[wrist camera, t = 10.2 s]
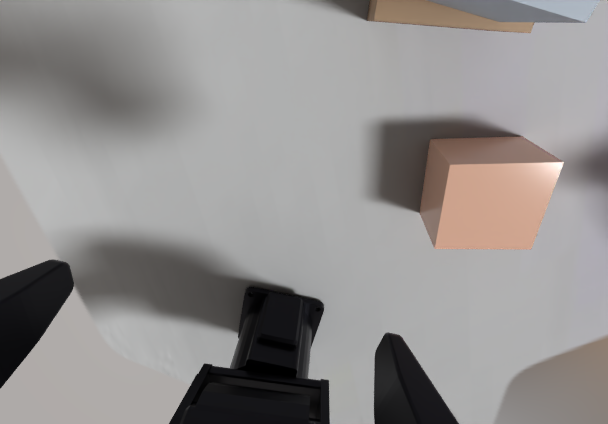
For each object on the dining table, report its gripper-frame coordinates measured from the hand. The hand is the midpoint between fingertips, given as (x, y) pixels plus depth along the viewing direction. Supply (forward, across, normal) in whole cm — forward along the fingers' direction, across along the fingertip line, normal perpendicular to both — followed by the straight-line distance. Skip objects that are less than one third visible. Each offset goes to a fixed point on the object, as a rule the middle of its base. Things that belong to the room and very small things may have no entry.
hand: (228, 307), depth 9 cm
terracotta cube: (+13, -11, -1) cm, 17 cm away
